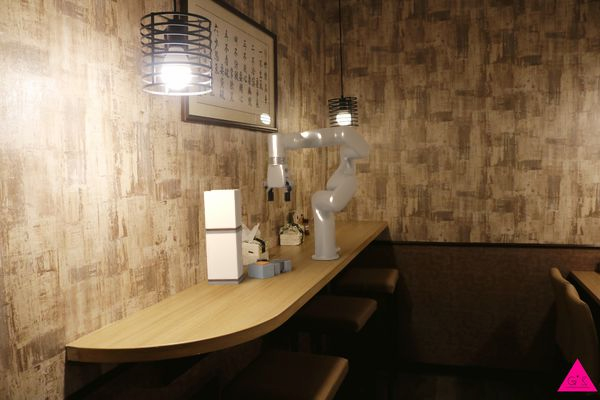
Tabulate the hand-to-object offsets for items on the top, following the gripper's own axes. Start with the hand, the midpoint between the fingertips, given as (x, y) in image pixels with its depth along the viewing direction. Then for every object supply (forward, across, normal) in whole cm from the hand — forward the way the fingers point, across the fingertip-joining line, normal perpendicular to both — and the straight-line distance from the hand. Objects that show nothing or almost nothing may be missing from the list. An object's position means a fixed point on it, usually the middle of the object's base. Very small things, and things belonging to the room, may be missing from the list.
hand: (279, 201), depth 223 cm
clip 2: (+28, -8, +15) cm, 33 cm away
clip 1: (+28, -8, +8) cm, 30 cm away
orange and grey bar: (+27, -7, +13) cm, 31 cm away
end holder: (+28, -8, +20) cm, 35 cm away
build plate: (+29, +3, +9) cm, 31 cm away
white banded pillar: (+28, -2, +34) cm, 44 cm away
